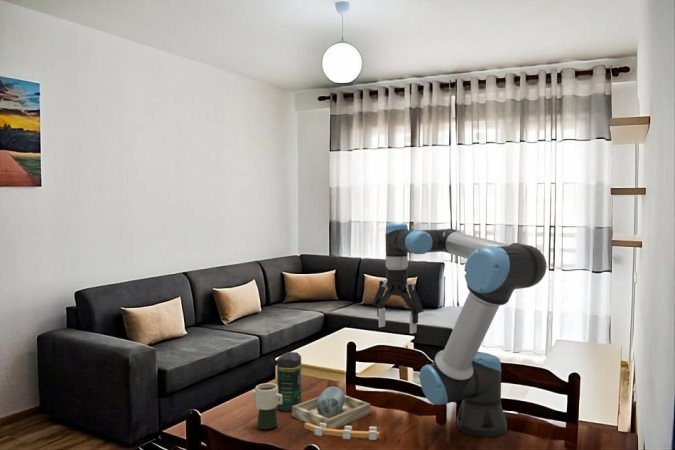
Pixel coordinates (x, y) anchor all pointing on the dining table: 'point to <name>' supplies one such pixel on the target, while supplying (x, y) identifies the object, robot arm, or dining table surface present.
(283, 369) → the coffee jar
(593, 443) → the dining table surface
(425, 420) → the dining table surface
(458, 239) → the robot arm
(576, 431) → the dining table surface
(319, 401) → the grey patterned ovoid
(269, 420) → the character mug
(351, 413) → the wooden tray
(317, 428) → the clips
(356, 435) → the cable
